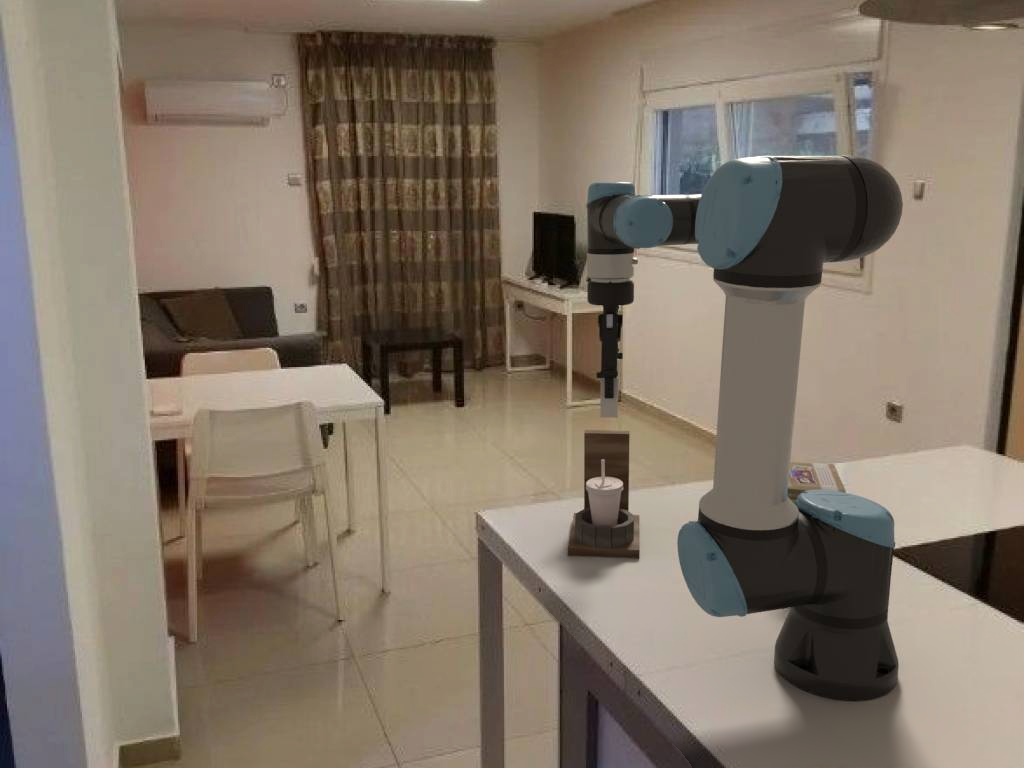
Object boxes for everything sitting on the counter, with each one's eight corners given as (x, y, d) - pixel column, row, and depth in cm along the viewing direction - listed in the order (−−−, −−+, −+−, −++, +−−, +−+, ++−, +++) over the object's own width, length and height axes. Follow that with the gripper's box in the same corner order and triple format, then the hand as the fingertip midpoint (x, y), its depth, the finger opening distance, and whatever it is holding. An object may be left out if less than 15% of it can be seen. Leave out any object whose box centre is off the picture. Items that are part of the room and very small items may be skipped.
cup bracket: (639, 558, 155) (641, 458, 151) (567, 555, 156) (567, 456, 152) (639, 522, 170) (640, 431, 166) (574, 520, 172) (573, 429, 168)
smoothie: (580, 539, 159) (579, 462, 155) (595, 525, 164) (594, 450, 161) (614, 545, 156) (614, 467, 152) (629, 531, 161) (629, 455, 158)
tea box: (841, 580, 145) (848, 491, 142) (775, 576, 147) (780, 488, 144) (829, 543, 160) (835, 461, 156) (769, 539, 162) (773, 458, 158)
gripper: (634, 288, 137) (632, 426, 142) (633, 271, 161) (632, 389, 166) (583, 288, 138) (583, 426, 143) (590, 271, 162) (590, 389, 167)
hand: (610, 406), depth 154 cm, fingers open, 13 cm apart
